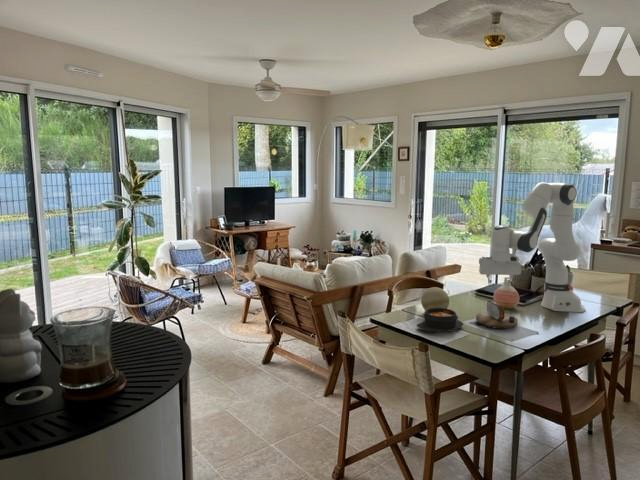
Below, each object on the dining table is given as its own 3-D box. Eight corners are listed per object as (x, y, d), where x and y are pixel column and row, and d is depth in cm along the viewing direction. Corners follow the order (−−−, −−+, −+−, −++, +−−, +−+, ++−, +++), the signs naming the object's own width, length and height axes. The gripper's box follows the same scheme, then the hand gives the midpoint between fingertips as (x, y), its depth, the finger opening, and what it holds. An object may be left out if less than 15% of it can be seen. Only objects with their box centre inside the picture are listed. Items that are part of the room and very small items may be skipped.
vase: (514, 304, 280) (516, 275, 277) (521, 311, 267) (523, 280, 264) (490, 304, 282) (491, 274, 279) (496, 311, 268) (498, 280, 265)
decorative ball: (437, 320, 253) (438, 292, 251) (415, 313, 265) (415, 287, 262) (454, 314, 263) (455, 287, 260) (432, 308, 274) (432, 282, 272)
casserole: (445, 319, 255) (446, 303, 254) (472, 329, 239) (472, 313, 238) (408, 326, 244) (409, 311, 242) (433, 338, 227) (434, 321, 226)
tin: (504, 322, 240) (505, 306, 238) (498, 322, 239) (499, 306, 238) (490, 313, 254) (491, 297, 253) (484, 313, 254) (486, 298, 253)
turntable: (525, 321, 245) (525, 313, 244) (502, 330, 233) (503, 321, 232) (491, 312, 261) (491, 304, 260) (468, 319, 249) (468, 311, 248)
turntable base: (511, 321, 251) (511, 318, 251) (510, 329, 238) (510, 326, 238) (482, 318, 256) (483, 315, 256) (481, 326, 243) (481, 323, 243)
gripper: (479, 257, 246) (479, 283, 248) (522, 258, 242) (521, 284, 244) (478, 255, 252) (477, 280, 254) (519, 255, 248) (518, 281, 250)
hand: (499, 282), depth 249 cm, fingers open, 8 cm apart
